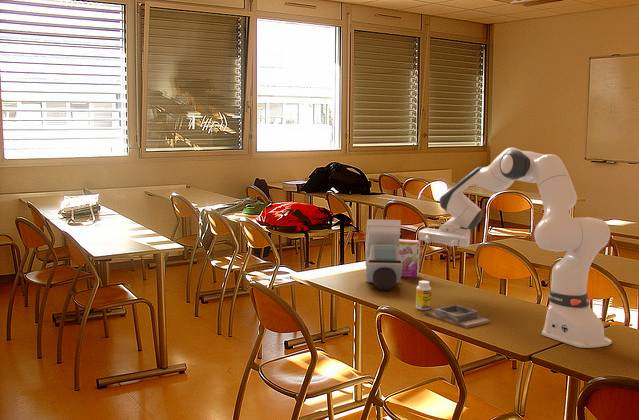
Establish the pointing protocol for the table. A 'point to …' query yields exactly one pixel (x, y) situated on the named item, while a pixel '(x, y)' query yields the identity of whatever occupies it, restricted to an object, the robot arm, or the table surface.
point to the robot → (383, 253)
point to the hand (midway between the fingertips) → (438, 242)
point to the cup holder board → (458, 316)
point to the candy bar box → (409, 257)
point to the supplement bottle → (423, 295)
